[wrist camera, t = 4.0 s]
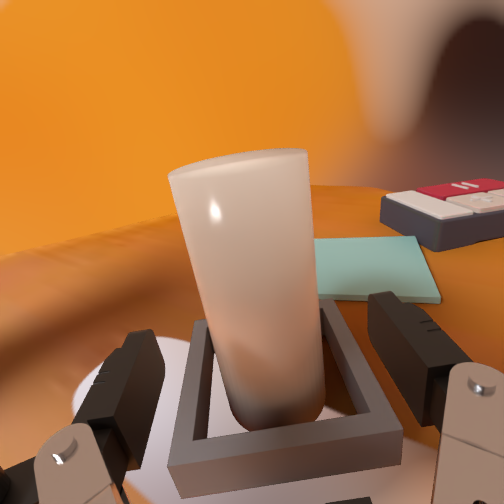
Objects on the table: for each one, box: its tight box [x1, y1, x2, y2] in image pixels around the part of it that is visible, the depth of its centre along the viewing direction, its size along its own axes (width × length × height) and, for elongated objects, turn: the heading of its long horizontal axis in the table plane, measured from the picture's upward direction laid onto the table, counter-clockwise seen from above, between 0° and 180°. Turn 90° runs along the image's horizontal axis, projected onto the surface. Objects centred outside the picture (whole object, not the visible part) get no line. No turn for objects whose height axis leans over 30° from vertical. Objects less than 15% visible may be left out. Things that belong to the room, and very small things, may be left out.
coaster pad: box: [314, 236, 441, 304], centre depth 31 cm, size 12×12×1 cm
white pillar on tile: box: [168, 148, 326, 432], centre depth 17 cm, size 8×6×14 cm
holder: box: [167, 298, 404, 499], centre depth 19 cm, size 10×10×2 cm
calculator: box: [380, 178, 504, 252], centre depth 36 cm, size 11×4×15 cm
